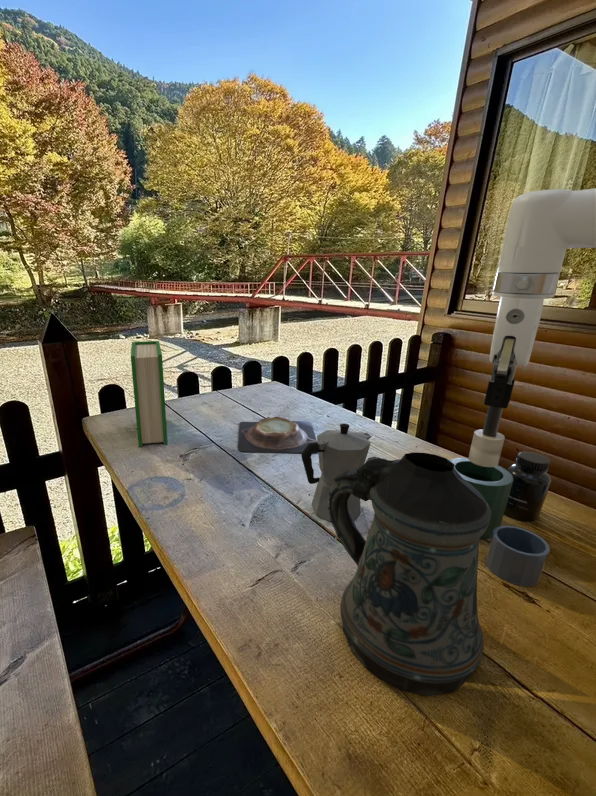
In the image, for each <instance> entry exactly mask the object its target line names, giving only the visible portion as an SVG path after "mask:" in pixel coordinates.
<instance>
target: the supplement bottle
mask: <svg viewBox="0 0 596 796" xmlns="http://www.w3.org/2000/svg"><path fill="white" fill-rule="evenodd" d="M514 462H515V463H513V464H511V465H509V466H508V467H506V470H507V471H508V472H509V473H510V474H511V475H512V477H513V483H512V486H511V490H510V494H509V497H508V501H507V504H506V508H505V511H504V515H503V516H505V517H507V518H510V519H513V520H515V521H519V522H523V523H524V522H525V523H532V522H536V521H538V520H539V518H540V515H541V513H542V510H543V506H544V503H545V502H546V498H547V495H548V492H549V489H550V486H551V483H552V478H551V476H550V474H549V473H548V471H549V468H550V465H551V460H550V458H548V457H546V456H545V455H543V454H539V453H536V452H532V451H520V452H518V453H517V456H516V459H515V461H514Z"/></svg>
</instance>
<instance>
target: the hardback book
mask: <svg viewBox="0 0 596 796" xmlns="http://www.w3.org/2000/svg"><path fill="white" fill-rule="evenodd" d="M163 361H164V360H163V352H162V347H161V344H160V340H148V341H147V340H146V341H145V340H144V341H131V347H130V363H131V364H130V365H131V374H132V386H133V387H132V388H133V400H134V409H135V420H136V421H135V423H136V431H137V433H136V434H137V443H138V448H143V444H154V443H155V444H156V443H163V446H168V429H167V414H166V412H167V411H166V396H165V395H166V394H165V382H164V381H165V379H164V365H163Z"/></svg>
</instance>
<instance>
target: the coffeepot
mask: <svg viewBox="0 0 596 796" xmlns="http://www.w3.org/2000/svg"><path fill="white" fill-rule="evenodd" d="M339 428H340V429H326V430H324V431H322V432H321V433H319V434H318V435H316V440H317V441H315V442H314V443H309V444H308V445H307V446H306V448H305V449H304V450H303V452H302V453H301V461H302V464H303V467H304V471H305V475H306V480H307V483H309V484H310V485H314V484H316V488H315V491H314V494H313V497H312V501H311V506H312V509H313V511H314V513H315V515H316V516H317V517H319V518H321V519H322V520H325V521H327V522H331V520H330V516H329V512H328V494H329V491H330V488H331V487H332V485H333V484H334V482H335V481H334V479H335V478H336V477H337V476H338V475H340V474H342V473H344V472H346V471H352V470H358V469H359V468H360V467H362V466H363V465H364V464H365V463H366V461H367V457H368V453H369V450H370V447H371V444H372V443H371V441H370V439H371V438H372V437H373V435H370V434H369V433H368V432H362V431H352V430H350V424H348V423H340V424H339ZM314 453H318V454H317V455H318V467H319V470H320V472H321V475H320V476H319V477H314V476H315V470H314V468H313V460H312V455H313V454H314ZM348 509H349V512H350V514H351V517H352V519H353V521H354V522H355V520H356V519H358V517H359V515H360V514H362V507H361V499H360V498H357V497H355V496H354V495H352V494H351V495H350V497H349V499H348ZM331 523H332V522H331Z"/></svg>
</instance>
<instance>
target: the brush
mask: <svg viewBox="0 0 596 796" xmlns="http://www.w3.org/2000/svg"><path fill="white" fill-rule="evenodd" d="M508 378H509V377H508ZM503 410H504V408H498V407H493V406H487V412H486V416H485V420H484V425H483V429H476V430H474V432H473V436H472V440H471V444H470V448H469V449H470V450H469V453H468V458H469V460H470V461H471V462H472V463H474V464H476V465H479V466H483V467H496V466H497V465H498V466H499V463H500V460H501V454H502V451H503V446H504V444H505V443H504V442H505V439H506V436H505V435H504V434H502V433H500V432H499V426H500V423H501V418H502V414H503Z"/></svg>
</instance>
